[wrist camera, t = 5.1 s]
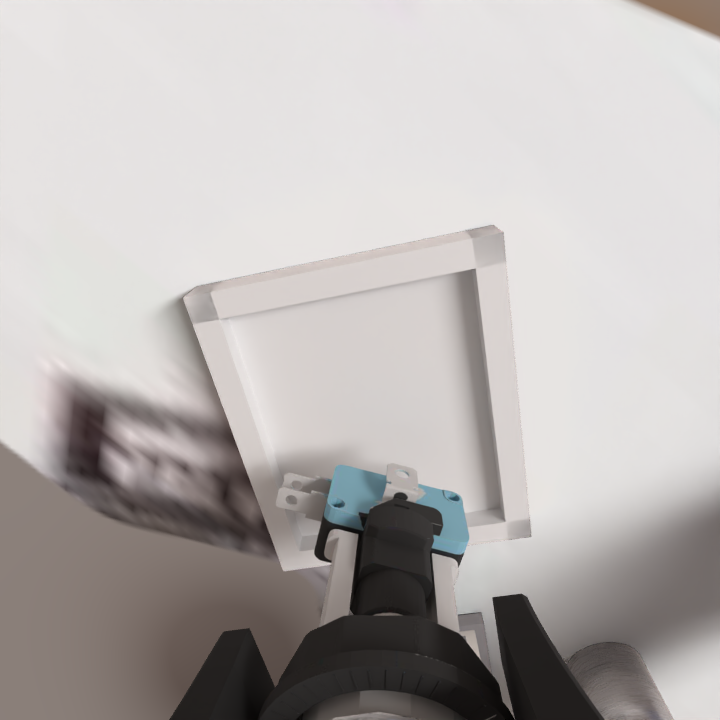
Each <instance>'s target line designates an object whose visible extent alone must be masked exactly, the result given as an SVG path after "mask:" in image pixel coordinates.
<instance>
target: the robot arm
mask: <svg viewBox="0 0 720 720" xmlns="http://www.w3.org/2000/svg"><path fill="white" fill-rule="evenodd" d="M492 598H493V605H494V612H495V619H496V626H497V633H498V640H499V646H500V653H501V660H502V665H503V669H504V674H505V678H506V682H507V687H508V691H509V695H510V700H511V704H512V708H513V713H514V717H515V720H605V719H604V718H603V717H602V715H601V714H600V713H599V711H598V710H597V708H596V707H595V706H594V704H593V703H592V701H591V700H590V699H589V697H588V696H587V694H586V693H585V691H584V690H583V688H582V687H581V686H580V684H579V683H578V681H577V680H576V678H575V677H574V676H573V674H572V673H571V671H570V670H569V668H568V667H567V665H566V664H565V662H564V661H563V659H562V658H561V656H560V654H559V653H558V651H557V650H556V648H555V646H554V645H553V643H552V642H551V640H550V638H549V637H548V635H547V633H546V632H545V630H544V628H543V627H542V625H541V623H540V621H539V620H538V618H537V616H536V614H535V612H534V610H533V608H532V606H531V604H530V602H529V600H528V598H527V597H526V596H524V595H523V594H516V595H508V596H500V597H492ZM274 688H275V687H274V684H273V682H272V679H271V677H270V675H269V672H268V670H267V668H266V666H265V663H264V661H263V658H262V656H261V654H260V652H259V649H258V647H257V645H256V643H255V640H254V638H253V635H252V633H251V631H250V629H249V628H248V629H240V630H232V631H225V632H223V633H222V635H221V636H220V638H219V639H218V641H217V643H216V644H215V646H214V648H213V649H212V651H211V653H210V654H209V656H208V658H207V659H206V661H205V663H204V664H203V666H202V668H201V670H200V671H199V673H198V674H197V676H196V678H195V679H194V681H193V683H192V684H191V686H190V688H189V689H188V691H187V693H186V694H185V696H184V698H183V699H182V701H181V702H180V704H179V705H178V707H177V709H176V710H175V712H174V713H173V715H172V716H171V718H170V720H258V717H259V714H260V711H261V708H262V706H263V704H264V702H265V700H266V698H267V697H268V696H269V694H270V693H271V691H272V690H273V689H274Z"/></svg>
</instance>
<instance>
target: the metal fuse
mask: <svg viewBox="0 0 720 720" xmlns="http://www.w3.org/2000/svg"><path fill="white" fill-rule="evenodd" d="M567 667H568V668H569V670H570V671H571V673H572V674H573V676H574V677H575V678H576V680H577V681H578V683H579V684H580V686H581V687H582V688H583V690H584V691H585V693H586V694H587V696H588V697H589V699H590V700H591V701H592V703H593V704H594V706H595V707H596V708H597V710H598V711H599V713H600V714H601V715H602V717H603V718H604V719H605V720H674V719H673V717H672V715H671V713H670V711H669V709H668V708H667V706H666V704H665V702H664V700H663V698H662V696H661V694H660V692H659V690H658V688H657V686H656V684H655V683H654V681H653V679H652V677H651V675H650V673H649V671H648V669H647V667H646V665H645V663H644V661H643V660H642V658H641V656H640V654H639V653H638V652H637V651H636V650H635V649H634V648H632V647H630V646H628V645H625V644H621V643H613V642H608V643H599V644H595V645H591V646H588V647H586V648H584V649H582V650H580V651H579V652H577V653H576V654H575V655H574V656H573V657H572V658H571V659H570V660H569V662H568V664H567Z"/></svg>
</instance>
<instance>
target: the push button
mask: <svg viewBox="0 0 720 720" xmlns="http://www.w3.org/2000/svg"><path fill="white" fill-rule="evenodd" d="M397 471H401V472H404V473H406V474H407V475H408V476H409V477H408V478H402V477H399V476H398V475H397V474H396V472H397ZM295 480H297V481H300V482H301V483H302V488H301V489H295V488H293V487H292V482H293V481H295ZM289 495H293V496H295V497H296V498H297V503H296V504H289V503H288V502H287V501H286V497H287V496H289ZM276 506H277V507H280V508H284V509H288V510H292V511H296V512H299V513H303V514H306V515H305V518H308V519H312V520H316V521H320V522H321V525H320V529H319V533H318V537H317V541H316V546H315V550H314V555H315V556H316V558H317V559H319V560H321V561H325V562H329V563H331V567H330V573H329V578H328V584H327V589H326V594H325V600H324V605H323V611H322V616H321V621H320V627H319V628H317V629H314V630H312V631H310V632H309V633H308V634H307V635H306V636H305V638H304V639H303V641H302V643H301V644H300V646H299V648H298V649H297V651H296V653H295V655H294V656H293V658H292V659H291V661H290V663H289V664H288V666H287V668H286V669H285V671H284V673H283V674H282V676H281V678H280V680H279V683H278V685H277V686H276V687H275V688H274V689H273V690H272V691H271V693H270V694H269V696H268V697H267V698H266V700H265V702H264V704H263V706H262V708H261V711H260V714H259V717H258V720H515V719H514V718H513V716H512V714H511V713H510V711H509V709H508V708H507V707H506V705H505V704H504V703H503V702H502V697H501V692H500V687H499V684H498V682H497V681H496V679H495V678H494V677H493V675H492V674H491V673H490V671H489V670H488V669H487V668H486V666H485V665H484V664H483V662H482V661H481V660H480V659H479V657H478V656H477V655H476V653H475V652H474V651H473V649H472V648H471V647H470V646H469V644H468V643H467V642H466V640H465V639H464V638H463V637H462V636H461V635H460V630H459V623H458V616H457V608H456V601H455V594H454V585H455V582H456V580H457V577H458V574H459V569H458V567H459V565H460V562H461V560H462V557H463V555H464V552H465V549H466V546H467V544H468V541H469V532H468V527H467V522H466V517H465V512H464V507H463V500H462V498H461V496H460V495H458V494H457V493H455V492H452V491H448V490H444V489H443V490H441V489H437V488H433V487H429V486H425V485H421V484H418V476H417V471H416V470H414V469H413V468H410V467H406V466H402V465H398V464H394V463H390V464H387V474H386V475H382V474H378V473H374V472H370V471H366V470H362V469H358V468H354V467H350V466H346V465H337V466H336V467H335V470H334V474H333V478H332V480H331V479H327V478H323V477H320V476H316V478H315V479H313V478H309V477H305V476H301V475H297V474H293V473H289V472H287V473H285V476H284V481H283V485H282V487H281V488H279V491H278V495H277V500H276ZM351 591H352V592H351ZM350 599H351V601H350ZM349 607H350V610H351V612H352V613H353V614H354V615H349Z"/></svg>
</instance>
